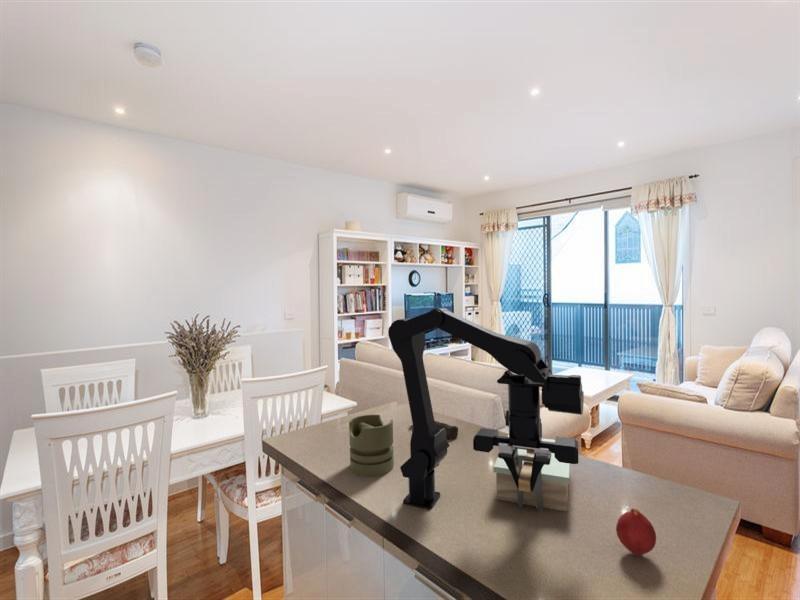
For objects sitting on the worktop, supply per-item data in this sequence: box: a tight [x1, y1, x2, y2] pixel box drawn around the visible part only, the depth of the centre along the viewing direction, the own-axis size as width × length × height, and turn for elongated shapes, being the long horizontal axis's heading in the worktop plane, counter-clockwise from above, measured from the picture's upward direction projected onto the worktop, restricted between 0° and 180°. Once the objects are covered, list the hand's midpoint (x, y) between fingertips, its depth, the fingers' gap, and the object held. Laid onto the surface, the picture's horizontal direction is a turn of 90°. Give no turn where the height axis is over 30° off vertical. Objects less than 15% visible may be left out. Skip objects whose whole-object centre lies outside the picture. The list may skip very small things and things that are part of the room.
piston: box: [348, 414, 395, 478], centre depth 105 cm, size 11×12×11 cm
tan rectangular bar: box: [519, 452, 535, 492], centre depth 81 cm, size 14×2×2 cm, turn 156°
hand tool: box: [434, 420, 459, 441], centre depth 131 cm, size 19×4×5 cm, turn 38°
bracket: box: [517, 454, 543, 512], centre depth 83 cm, size 1×5×11 cm, turn 66°
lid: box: [493, 434, 571, 485], centre depth 93 cm, size 21×15×6 cm
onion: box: [615, 507, 657, 557], centre depth 68 cm, size 6×6×8 cm
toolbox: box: [495, 472, 569, 513], centre depth 93 cm, size 20×14×6 cm
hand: (525, 489), depth 77 cm, fingers closed on tan rectangular bar, 2 cm apart
